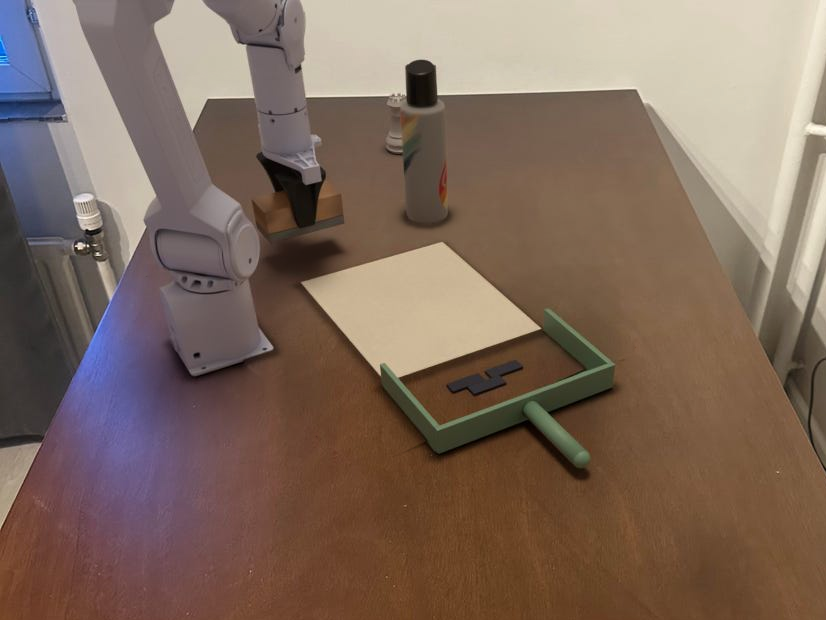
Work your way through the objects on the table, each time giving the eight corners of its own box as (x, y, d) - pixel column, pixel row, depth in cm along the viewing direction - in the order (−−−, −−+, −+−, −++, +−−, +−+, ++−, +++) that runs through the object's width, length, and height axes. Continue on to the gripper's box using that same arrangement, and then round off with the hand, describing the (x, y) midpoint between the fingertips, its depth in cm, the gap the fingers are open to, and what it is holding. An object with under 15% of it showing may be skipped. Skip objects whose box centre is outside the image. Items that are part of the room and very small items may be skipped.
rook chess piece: (382, 146, 140) (378, 93, 134) (408, 141, 141) (405, 88, 136) (392, 157, 137) (388, 103, 131) (419, 151, 138) (416, 98, 133)
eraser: (269, 243, 109) (264, 213, 106) (256, 228, 112) (251, 198, 109) (344, 223, 112) (341, 193, 110) (330, 209, 115) (326, 179, 112)
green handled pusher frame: (382, 388, 95) (379, 364, 93) (547, 331, 103) (548, 307, 101) (490, 517, 81) (490, 492, 79) (671, 440, 89) (676, 415, 87)
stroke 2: (474, 398, 94) (474, 393, 93) (467, 390, 95) (467, 386, 94) (506, 386, 95) (506, 382, 95) (499, 379, 96) (499, 374, 96)
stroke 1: (453, 395, 94) (453, 391, 94) (446, 388, 95) (446, 383, 94) (485, 384, 95) (485, 379, 95) (478, 376, 96) (478, 372, 96)
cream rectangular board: (385, 385, 96) (385, 381, 95) (301, 285, 110) (300, 282, 110) (541, 332, 103) (541, 328, 102) (442, 245, 117) (442, 241, 117)
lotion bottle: (450, 208, 125) (446, 56, 111) (445, 227, 121) (440, 72, 107) (410, 206, 125) (401, 54, 111) (403, 225, 121) (393, 71, 107)
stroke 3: (491, 381, 96) (491, 377, 95) (484, 374, 97) (484, 370, 96) (523, 370, 97) (523, 366, 97) (515, 363, 98) (515, 359, 98)
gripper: (339, 120, 98) (352, 233, 108) (290, 79, 107) (306, 187, 117) (279, 133, 96) (298, 248, 105) (234, 90, 105) (255, 200, 114)
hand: (298, 217), depth 111 cm, fingers closed on eraser, 4 cm apart
